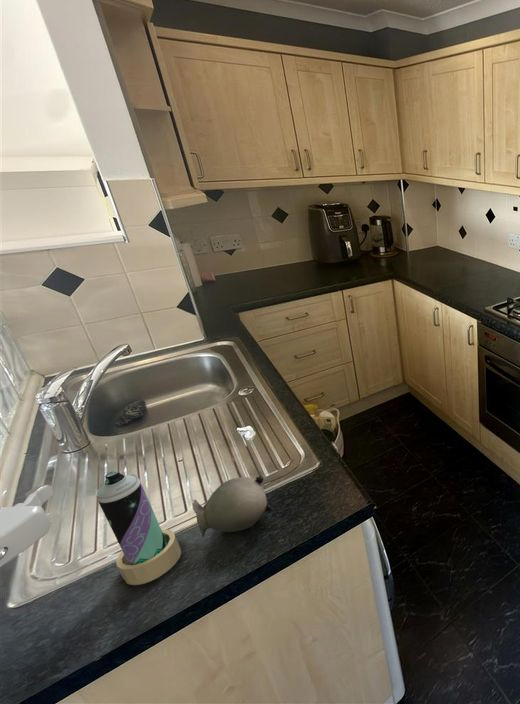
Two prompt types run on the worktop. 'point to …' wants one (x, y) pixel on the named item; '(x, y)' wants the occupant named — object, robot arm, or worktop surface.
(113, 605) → the worktop surface
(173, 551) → the beige base ring
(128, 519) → the spray can
